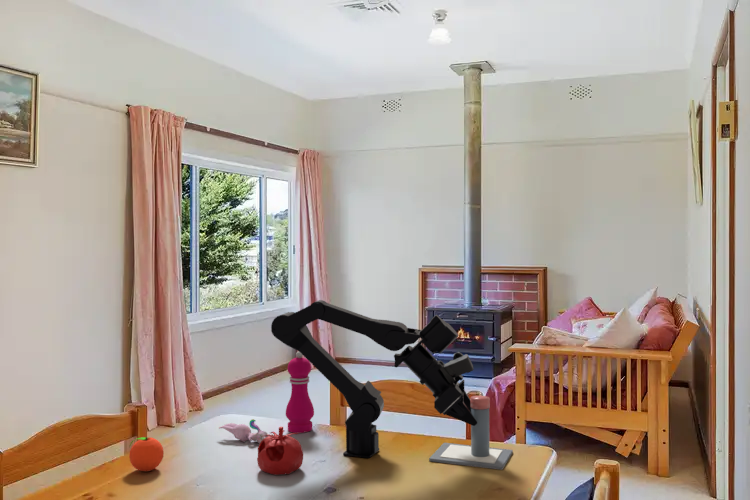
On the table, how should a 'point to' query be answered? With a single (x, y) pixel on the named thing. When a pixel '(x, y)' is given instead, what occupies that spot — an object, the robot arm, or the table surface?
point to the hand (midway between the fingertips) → (476, 418)
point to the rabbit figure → (245, 431)
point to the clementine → (146, 454)
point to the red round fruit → (279, 454)
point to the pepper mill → (299, 396)
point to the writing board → (470, 456)
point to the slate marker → (480, 426)
